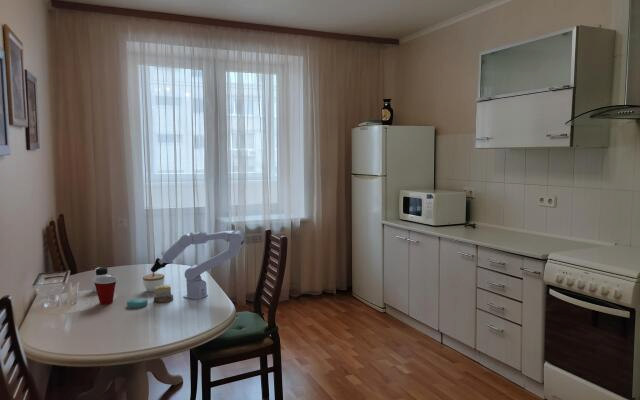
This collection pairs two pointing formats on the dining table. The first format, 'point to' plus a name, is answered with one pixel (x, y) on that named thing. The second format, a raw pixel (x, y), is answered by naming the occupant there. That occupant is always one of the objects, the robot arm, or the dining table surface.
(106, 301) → the plastic cup
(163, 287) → the block
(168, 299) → the stand
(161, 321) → the dining table surface
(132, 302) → the stand
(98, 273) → the medicine bottle
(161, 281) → the lidded jar
